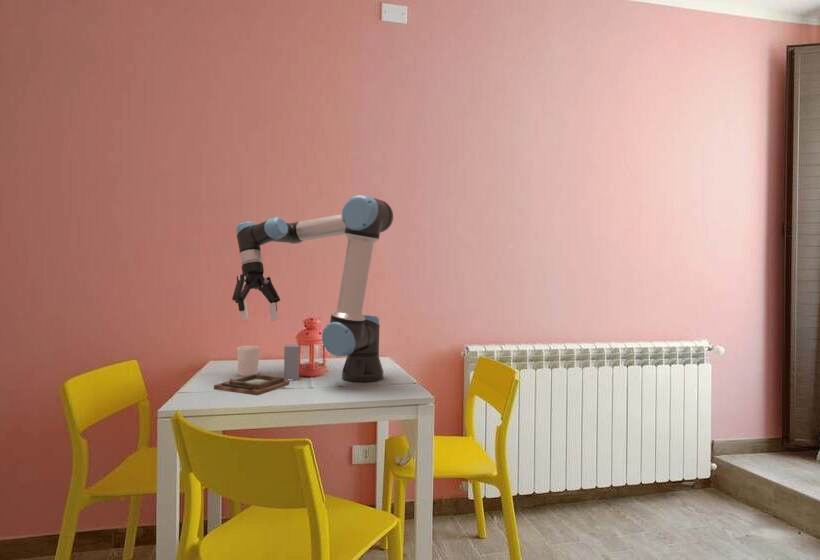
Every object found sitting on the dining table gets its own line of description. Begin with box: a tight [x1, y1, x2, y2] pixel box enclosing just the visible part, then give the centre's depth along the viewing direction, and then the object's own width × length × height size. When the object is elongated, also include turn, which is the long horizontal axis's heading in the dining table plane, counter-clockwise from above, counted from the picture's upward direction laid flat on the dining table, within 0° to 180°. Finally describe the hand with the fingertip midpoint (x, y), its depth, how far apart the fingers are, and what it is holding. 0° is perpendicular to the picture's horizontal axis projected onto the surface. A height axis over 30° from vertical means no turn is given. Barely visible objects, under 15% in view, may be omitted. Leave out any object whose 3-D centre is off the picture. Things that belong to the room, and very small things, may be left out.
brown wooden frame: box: [213, 373, 290, 396], centre depth 169 cm, size 18×16×3 cm
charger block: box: [283, 343, 300, 381], centre depth 182 cm, size 5×5×12 cm
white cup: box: [236, 345, 260, 377], centre depth 189 cm, size 8×8×10 cm
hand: (260, 320), depth 181 cm, fingers open, 13 cm apart
